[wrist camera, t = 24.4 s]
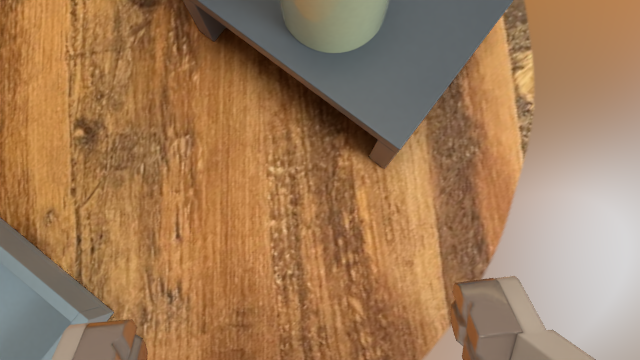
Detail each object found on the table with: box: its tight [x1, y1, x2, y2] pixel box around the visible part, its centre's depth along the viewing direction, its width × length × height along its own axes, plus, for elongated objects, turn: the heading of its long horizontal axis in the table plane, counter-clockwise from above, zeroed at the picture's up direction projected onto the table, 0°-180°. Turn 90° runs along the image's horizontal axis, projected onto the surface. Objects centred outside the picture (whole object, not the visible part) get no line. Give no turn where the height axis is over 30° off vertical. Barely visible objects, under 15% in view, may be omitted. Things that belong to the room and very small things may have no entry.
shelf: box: [183, 0, 513, 168], centre depth 33 cm, size 18×14×7 cm
